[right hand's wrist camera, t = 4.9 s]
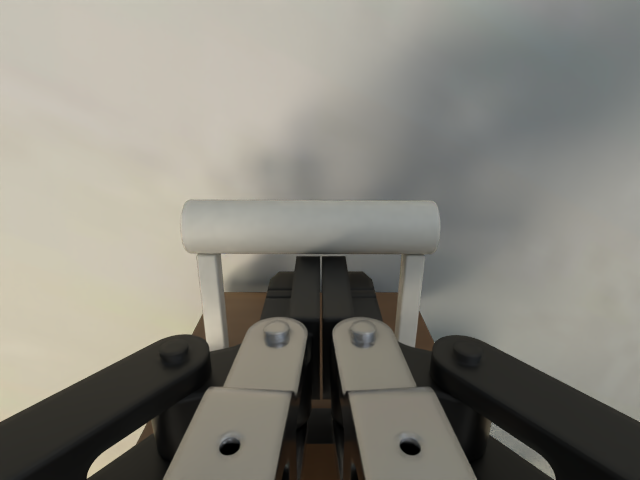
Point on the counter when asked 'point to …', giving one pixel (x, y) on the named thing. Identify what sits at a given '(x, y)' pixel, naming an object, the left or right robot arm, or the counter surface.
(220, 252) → the drawer
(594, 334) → the counter surface
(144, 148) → the counter surface
